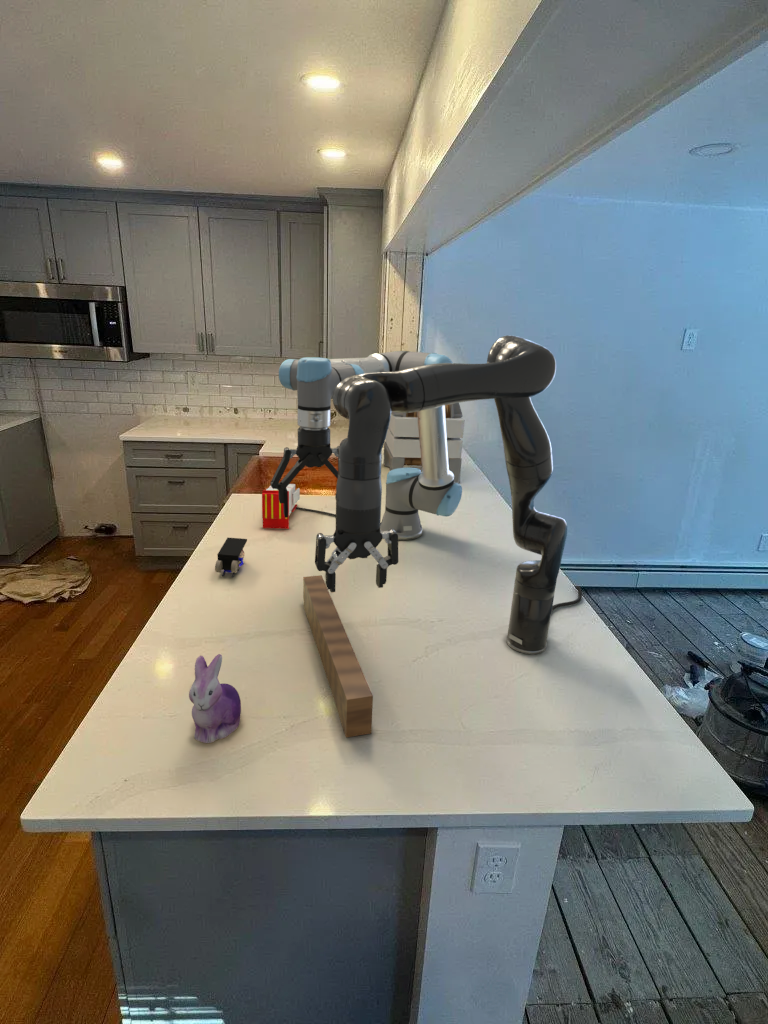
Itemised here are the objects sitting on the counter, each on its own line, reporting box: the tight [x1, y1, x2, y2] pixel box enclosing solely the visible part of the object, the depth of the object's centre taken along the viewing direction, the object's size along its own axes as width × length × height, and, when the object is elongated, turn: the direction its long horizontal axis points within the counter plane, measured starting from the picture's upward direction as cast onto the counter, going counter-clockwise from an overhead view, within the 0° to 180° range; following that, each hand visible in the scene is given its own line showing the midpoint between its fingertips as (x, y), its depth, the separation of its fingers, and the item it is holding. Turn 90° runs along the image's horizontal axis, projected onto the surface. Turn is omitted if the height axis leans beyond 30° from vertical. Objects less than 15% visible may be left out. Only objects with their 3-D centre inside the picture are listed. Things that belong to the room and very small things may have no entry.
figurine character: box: [214, 537, 248, 578], centre depth 166 cm, size 7×8×15 cm
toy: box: [261, 483, 301, 530], centre depth 210 cm, size 12×13×30 cm
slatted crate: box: [383, 403, 465, 484], centre depth 268 cm, size 34×33×41 cm
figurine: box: [188, 653, 242, 744], centre depth 103 cm, size 9×10×15 cm
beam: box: [302, 574, 374, 738], centre depth 126 cm, size 50×5×8 cm, turn 17°
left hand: (313, 513), depth 138 cm, fingers open, 13 cm apart
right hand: (356, 588), depth 99 cm, fingers open, 8 cm apart
